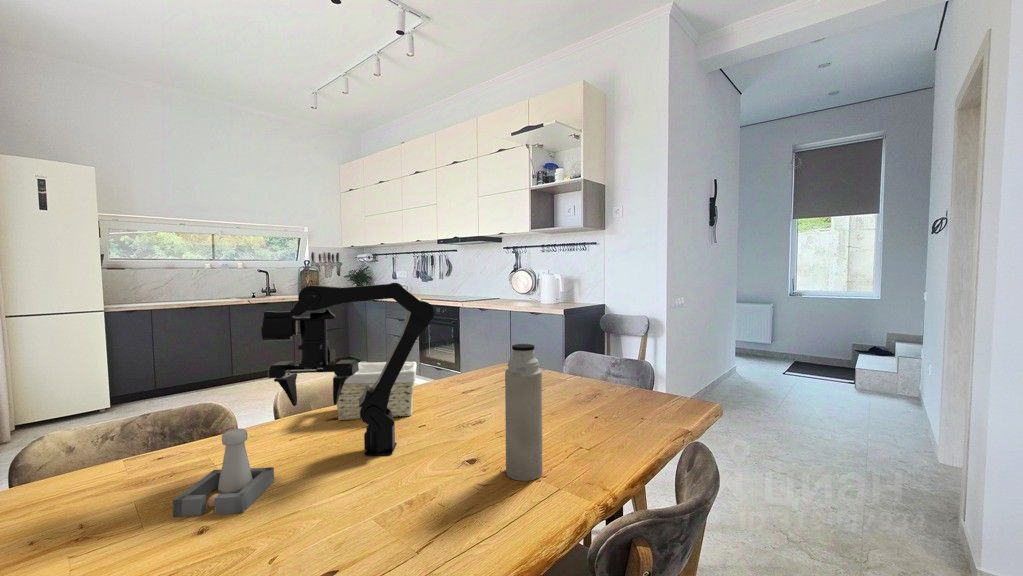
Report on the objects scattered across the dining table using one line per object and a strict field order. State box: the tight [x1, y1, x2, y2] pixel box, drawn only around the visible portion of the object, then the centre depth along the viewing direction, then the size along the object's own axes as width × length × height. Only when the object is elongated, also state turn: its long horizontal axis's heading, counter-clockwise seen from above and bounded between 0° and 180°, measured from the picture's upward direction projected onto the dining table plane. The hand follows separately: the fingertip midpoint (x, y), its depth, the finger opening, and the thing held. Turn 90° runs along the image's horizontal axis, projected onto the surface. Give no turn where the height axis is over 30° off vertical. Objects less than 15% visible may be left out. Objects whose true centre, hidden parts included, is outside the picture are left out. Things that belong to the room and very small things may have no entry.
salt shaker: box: [217, 427, 253, 494], centre depth 83 cm, size 6×6×13 cm
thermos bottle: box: [504, 343, 543, 482], centre depth 92 cm, size 8×8×28 cm
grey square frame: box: [172, 466, 275, 517], centre depth 83 cm, size 12×12×3 cm
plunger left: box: [206, 492, 220, 507], centre depth 79 cm, size 2×2×2 cm
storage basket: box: [333, 361, 418, 421], centre depth 134 cm, size 24×16×15 cm
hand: (315, 405), depth 99 cm, fingers open, 9 cm apart
